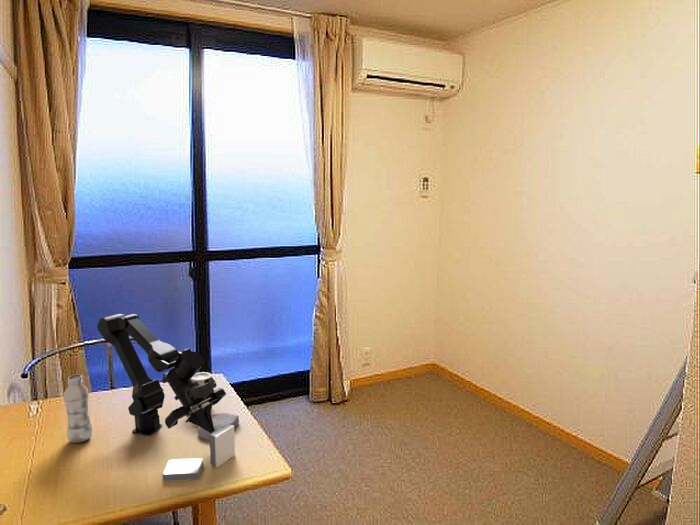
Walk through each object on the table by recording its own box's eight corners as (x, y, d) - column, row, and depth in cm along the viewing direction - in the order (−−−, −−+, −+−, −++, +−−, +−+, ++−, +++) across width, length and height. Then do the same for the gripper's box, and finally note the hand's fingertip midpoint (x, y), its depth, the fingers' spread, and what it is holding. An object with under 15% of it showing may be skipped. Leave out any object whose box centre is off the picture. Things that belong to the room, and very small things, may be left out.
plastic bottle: (96, 439, 150) (91, 376, 147) (72, 448, 146) (66, 383, 142) (88, 432, 155) (83, 370, 151) (64, 440, 150) (58, 377, 146)
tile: (210, 464, 138) (209, 434, 137) (228, 452, 144) (227, 423, 143) (217, 467, 137) (216, 436, 136) (234, 455, 143) (234, 425, 142)
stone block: (196, 444, 153) (225, 441, 150) (192, 429, 152) (222, 426, 150) (214, 426, 164) (242, 424, 162) (211, 412, 164) (239, 409, 161)
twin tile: (162, 482, 131) (162, 474, 130) (169, 467, 138) (169, 459, 137) (198, 481, 132) (197, 472, 131) (203, 466, 138) (203, 458, 138)
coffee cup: (204, 401, 177) (203, 368, 175) (221, 408, 172) (220, 374, 170) (182, 410, 170) (181, 377, 168) (200, 418, 164) (198, 383, 162)
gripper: (169, 383, 133) (201, 432, 130) (220, 361, 149) (250, 405, 146) (151, 404, 138) (181, 452, 135) (202, 381, 154) (230, 423, 151)
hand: (212, 432), depth 141 cm, fingers closed
